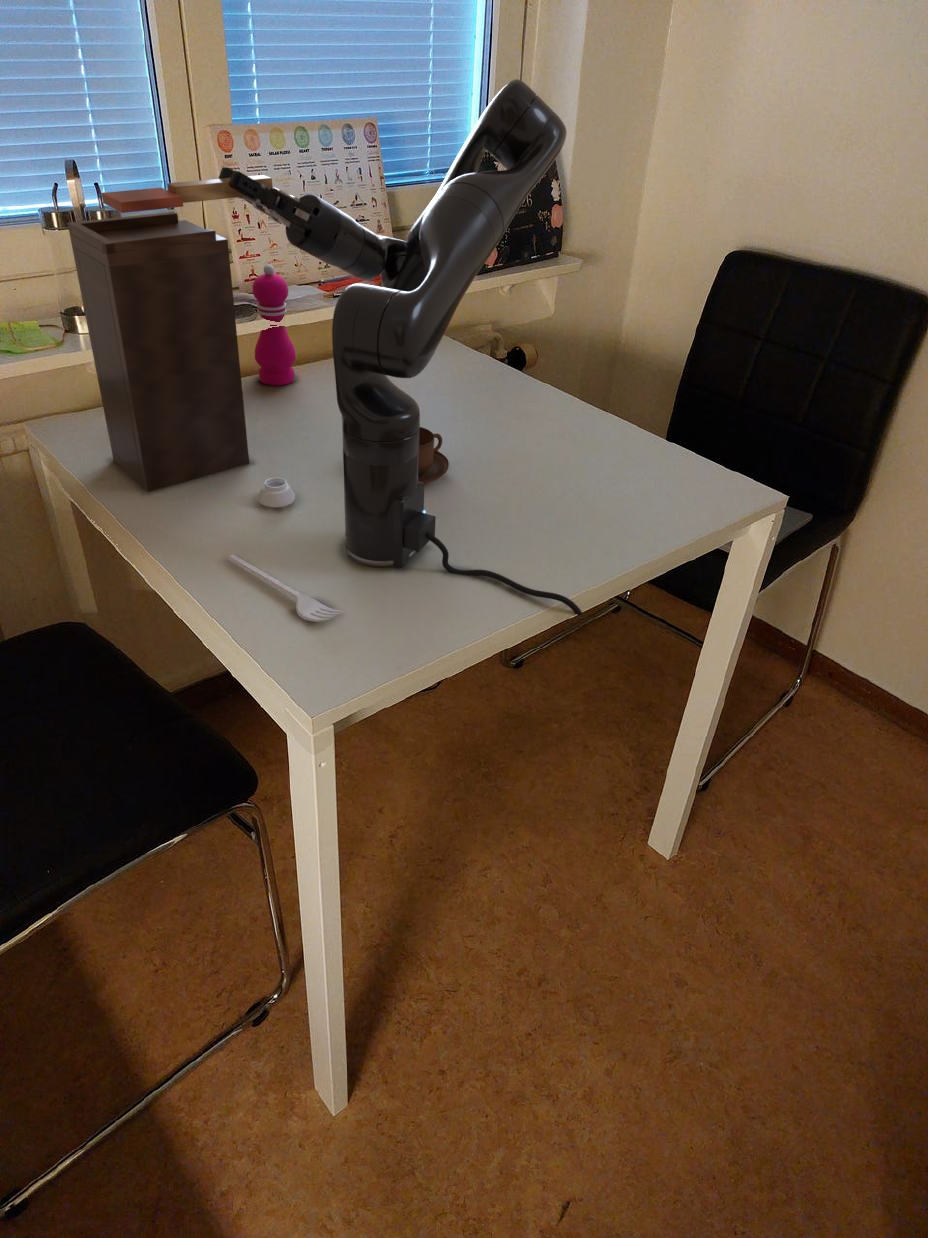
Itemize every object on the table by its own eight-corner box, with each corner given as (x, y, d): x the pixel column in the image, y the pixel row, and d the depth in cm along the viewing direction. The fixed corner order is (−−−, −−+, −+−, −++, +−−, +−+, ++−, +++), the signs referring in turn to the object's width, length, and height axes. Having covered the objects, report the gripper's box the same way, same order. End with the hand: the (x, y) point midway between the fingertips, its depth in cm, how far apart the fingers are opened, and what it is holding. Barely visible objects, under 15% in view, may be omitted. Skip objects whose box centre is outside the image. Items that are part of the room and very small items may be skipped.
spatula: (257, 187, 125) (256, 172, 123) (280, 196, 121) (279, 180, 120) (102, 202, 113) (99, 185, 111) (122, 212, 109) (119, 194, 108)
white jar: (300, 496, 127) (269, 490, 128) (299, 478, 125) (267, 471, 127) (284, 512, 123) (252, 505, 124) (283, 493, 122) (250, 486, 123)
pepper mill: (301, 373, 165) (295, 260, 153) (291, 388, 159) (284, 271, 148) (263, 370, 165) (253, 257, 154) (251, 384, 160) (241, 268, 148)
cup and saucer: (398, 449, 141) (398, 412, 138) (463, 470, 137) (465, 432, 133) (352, 477, 133) (351, 438, 129) (420, 500, 128) (421, 461, 125)
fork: (241, 555, 114) (239, 543, 113) (348, 622, 104) (347, 608, 103) (220, 565, 112) (218, 552, 111) (327, 634, 102) (326, 620, 100)
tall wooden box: (211, 435, 142) (184, 210, 123) (249, 463, 135) (226, 229, 115) (113, 460, 133) (67, 222, 114) (148, 491, 126) (105, 243, 107)
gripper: (309, 198, 135) (211, 139, 121) (363, 217, 126) (264, 155, 113) (290, 246, 136) (192, 193, 123) (342, 268, 128) (242, 214, 115)
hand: (227, 175), depth 118 cm, fingers closed on spatula, 2 cm apart
